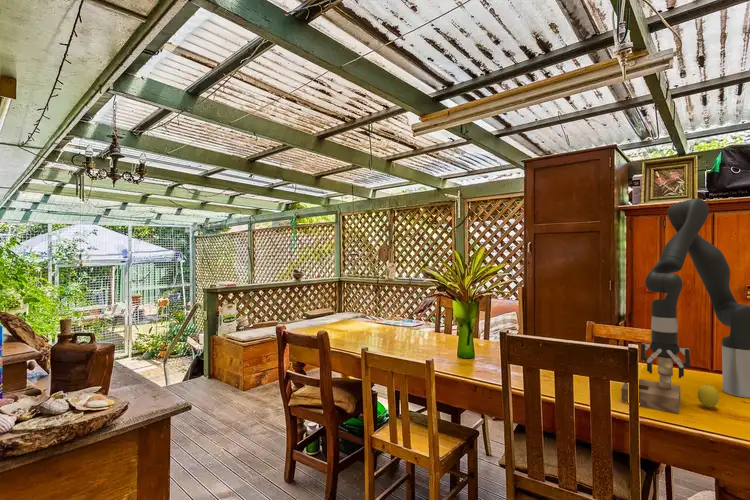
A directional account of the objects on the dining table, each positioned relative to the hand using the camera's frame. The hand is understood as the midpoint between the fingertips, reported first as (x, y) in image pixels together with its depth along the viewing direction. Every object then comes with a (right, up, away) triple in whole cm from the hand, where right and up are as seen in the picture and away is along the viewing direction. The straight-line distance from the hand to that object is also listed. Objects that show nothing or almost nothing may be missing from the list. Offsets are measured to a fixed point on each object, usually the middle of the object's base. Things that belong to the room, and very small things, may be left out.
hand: (665, 375), depth 137 cm
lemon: (+11, -10, -6) cm, 15 cm away
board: (-4, -10, +1) cm, 11 cm away
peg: (0, -5, 0) cm, 5 cm away
